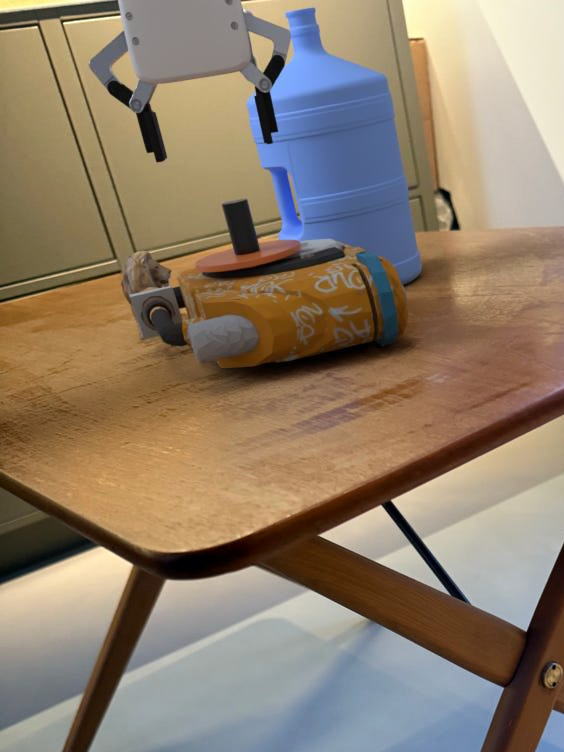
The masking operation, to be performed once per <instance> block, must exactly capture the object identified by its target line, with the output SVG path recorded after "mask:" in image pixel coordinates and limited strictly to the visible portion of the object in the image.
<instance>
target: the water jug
mask: <svg viewBox="0 0 564 752" xmlns="http://www.w3.org/2000/svg"><path fill="white" fill-rule="evenodd" d="M284 15H285V17H286V19H287V22H288V26H289V29H288V30H289V31H290V33H291V44H292V48H293V49H292V50H293V55H292V57H291V59H290V60H289V62H287V63H286V64H285V66H284V68H283V70H282V72H281V73H280V75H279V77H278V78H277V80H276V82H275V83H274V85H273V87H272V88H271V90H270V94H271V99H272V103H273V108H274V113H275V118H276V122H277V127H278V132H275V133H271V135H272V140H273V144H267V143H264V140H263V135H262V130H261V126H260V121H259V117H258V112H257V108H256V103H255V98H254V96H256V91H254V93H253V94H251V96H249V97H248V99H247V100H246V108H247V112H248V116H249V118H248V121H249V126H250V131H251V135H252V138H253V142H254V144H255V145H256V150H257V153H258V158H259V162H260V166H261V168H262V169H264V170H268V171H269V173H270V176H271V177H270V178H271V180H272V185H273V190H274V192H275V193H274V194H275V197H276V201H277V206H278V211H279V214H280V219H281V223H282V225H281V226H282V227H281V230H280V231H279V232H278V237H277V238H278V240H297V241H299V242H301V241H307V240H317V239H333V240H335V241H338V242H341V243H343V244H346V245H349V246H351V247H354V248H355V247H360V248H362V249H364V250H366V251H368V252H371V253H373V254H375V255H378V256H380V257H382V258H385V259H387V260H388V261H389V262H390V263H391V264H392V265H393V266H394V267H395V269H396V270H397V273H398V275H399V278H400V281H401V284H402V285H403V286H404V285H407V284H409V283H410V282H412V281H414V280H415V279H417V278H418V277H419V275H420V274H421V272H422V269H423V264H422V259H421V253H420V250H419V248H418V244H417V238H416V233H415V227H414V221H413V216H412V215H413V214H412V211H411V204H410V191H409V184H408V179H407V175H406V173H405V171H404V165H403V158H402V154H401V149H400V143H399V138H398V132H397V131H398V130H397V127H396V119H395V116H396V114H395V107H394V102H393V97H392V93H391V92H390V88H389V82H388V78H387V76H386V74H384V73H382V72H379V71H377V70H374V69H371V68H368V67H366V66H363V65H362V64H361V65H360V64H358V63H355V62H353V61H350V60H346V59H345V58H341V57H339V56H336V55H334V54H330V53H329V52H327V51H326V49H325V47H324V46H323V44H322V39H321V34H320V33H321V30H320V25H319V24H318V22H317V17H316V7H315V6H314V7H306V8H301V9H295V10H291V11H286V12H284ZM288 174H289V175H290V177H291V182H292V183H291V184H292V187H293V191H294V195H295V200H296V204H297V209H298V213H299V217H298V213H297V210H296V206H295V202H294V197H293V193H292V188H291V184H290V180H289V175H288Z"/></svg>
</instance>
